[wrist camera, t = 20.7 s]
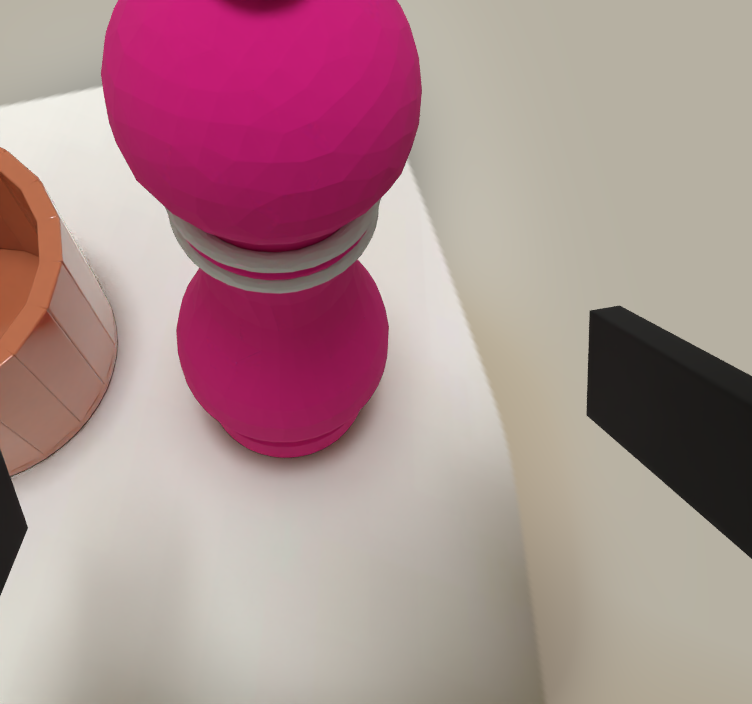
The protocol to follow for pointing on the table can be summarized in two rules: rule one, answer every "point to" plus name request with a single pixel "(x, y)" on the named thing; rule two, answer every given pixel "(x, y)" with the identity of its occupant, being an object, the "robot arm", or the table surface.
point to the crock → (46, 324)
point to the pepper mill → (270, 193)
